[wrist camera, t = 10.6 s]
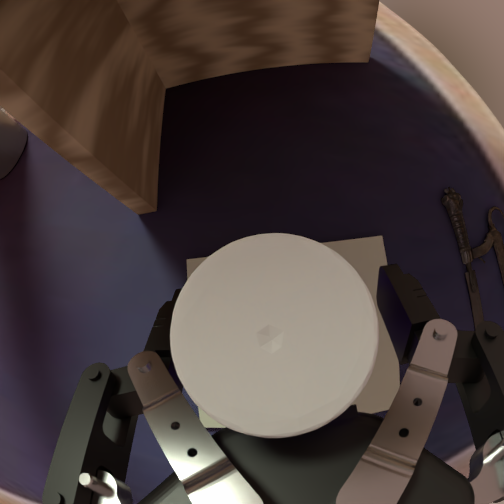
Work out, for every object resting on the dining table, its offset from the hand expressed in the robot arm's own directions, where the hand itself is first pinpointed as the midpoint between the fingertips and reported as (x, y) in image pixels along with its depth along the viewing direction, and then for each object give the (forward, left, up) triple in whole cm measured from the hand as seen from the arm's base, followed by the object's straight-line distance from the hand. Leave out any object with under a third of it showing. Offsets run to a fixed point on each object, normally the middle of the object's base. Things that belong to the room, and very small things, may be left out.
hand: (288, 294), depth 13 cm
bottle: (0, -1, -10) cm, 10 cm away
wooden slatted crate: (0, +19, -11) cm, 21 cm away
